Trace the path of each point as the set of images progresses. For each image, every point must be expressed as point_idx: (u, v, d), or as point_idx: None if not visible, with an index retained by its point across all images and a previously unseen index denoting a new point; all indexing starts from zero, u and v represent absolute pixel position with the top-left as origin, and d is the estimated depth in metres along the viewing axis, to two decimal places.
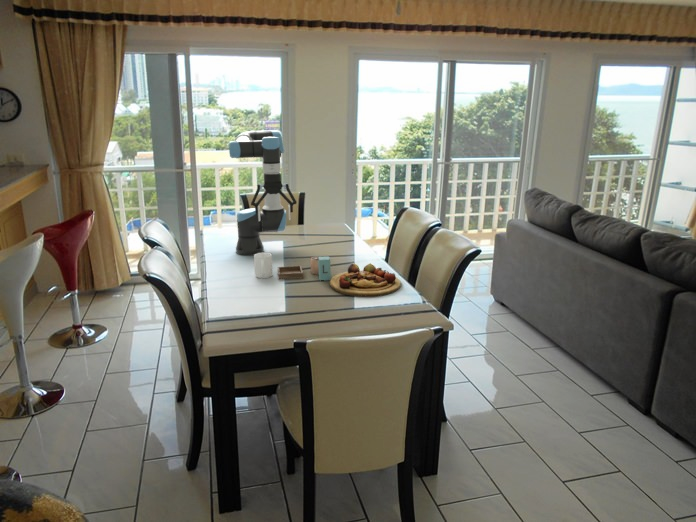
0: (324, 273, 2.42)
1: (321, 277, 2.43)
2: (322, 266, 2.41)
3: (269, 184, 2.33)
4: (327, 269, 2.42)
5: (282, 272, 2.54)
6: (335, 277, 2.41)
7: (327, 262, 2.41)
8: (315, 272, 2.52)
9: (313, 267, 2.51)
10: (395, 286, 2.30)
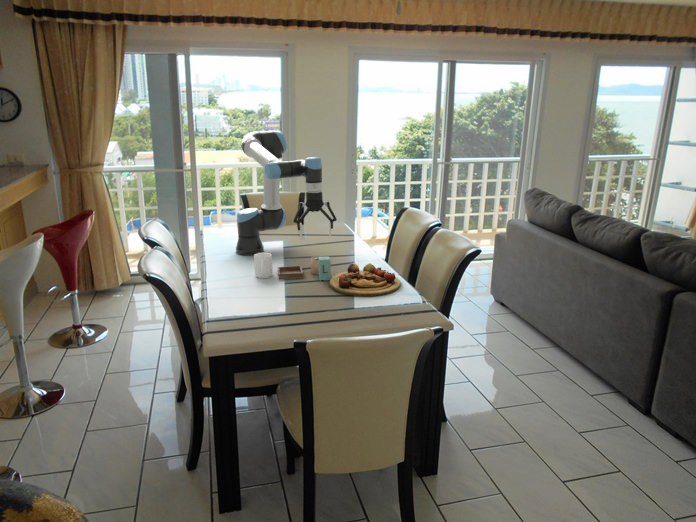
0: (324, 273, 2.42)
1: (321, 277, 2.43)
2: (322, 266, 2.41)
3: (311, 202, 2.43)
4: (327, 269, 2.42)
5: (282, 272, 2.54)
6: (335, 277, 2.41)
7: (327, 262, 2.41)
8: (315, 272, 2.52)
9: (313, 267, 2.51)
10: (395, 286, 2.30)
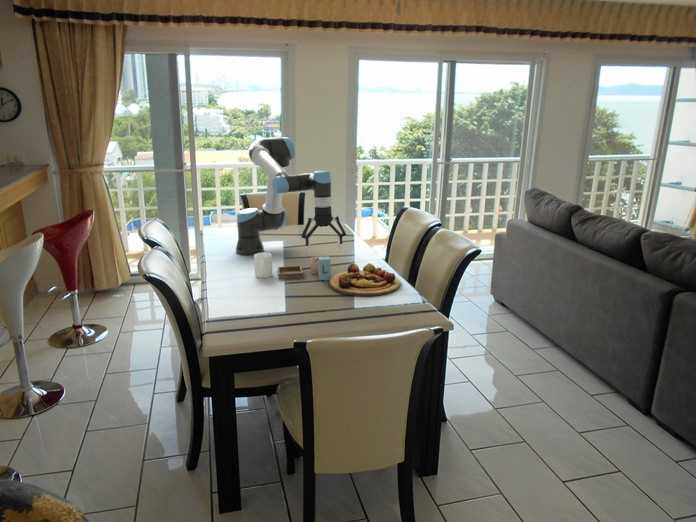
0: (324, 273, 2.42)
1: (321, 277, 2.43)
2: (322, 266, 2.41)
3: (320, 217, 2.36)
4: (327, 269, 2.42)
5: (282, 272, 2.54)
6: (335, 277, 2.41)
7: (327, 262, 2.41)
8: (315, 272, 2.52)
9: (313, 267, 2.51)
10: (394, 286, 2.30)
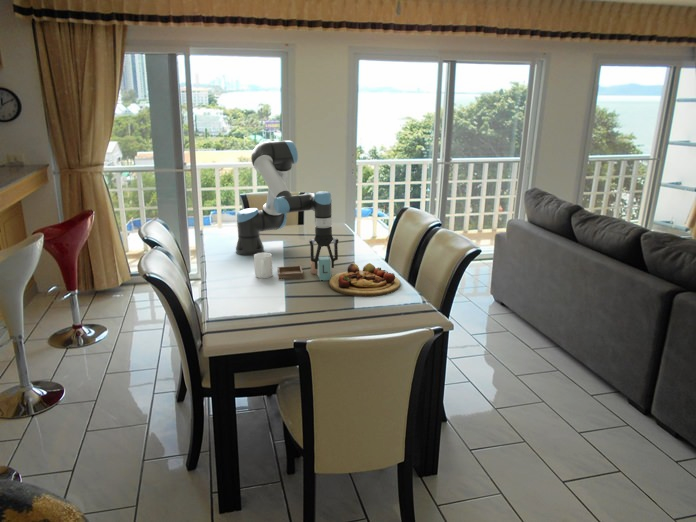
0: (324, 273, 2.42)
1: (321, 277, 2.43)
2: (322, 266, 2.41)
3: (319, 236, 2.38)
4: (327, 269, 2.42)
5: (282, 272, 2.54)
6: (335, 277, 2.41)
7: (327, 262, 2.41)
8: (315, 272, 2.52)
9: (313, 267, 2.51)
10: (394, 286, 2.30)
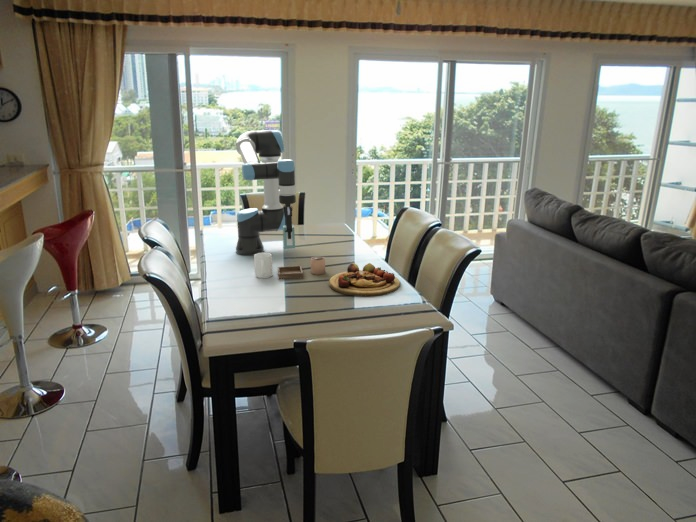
0: None
1: None
2: None
3: None
4: (283, 236, 2.45)
5: (282, 272, 2.54)
6: (334, 276, 2.41)
7: (283, 229, 2.43)
8: (315, 272, 2.52)
9: (313, 267, 2.51)
10: (394, 286, 2.30)
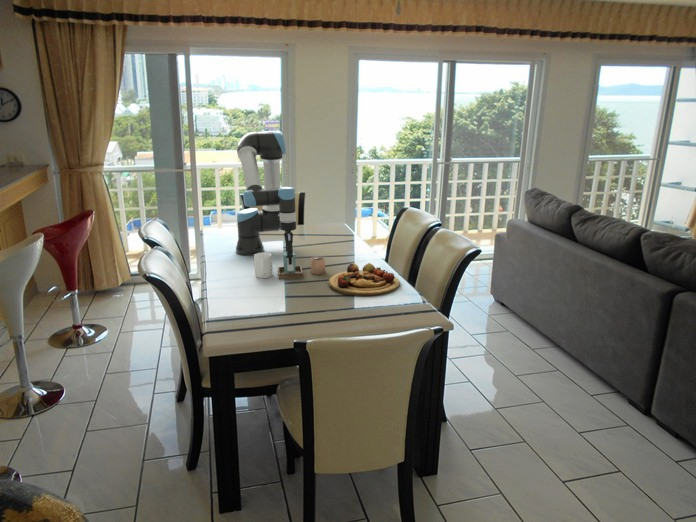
0: (284, 267, 2.50)
1: (284, 270, 2.52)
2: None
3: None
4: (284, 263, 2.49)
5: (282, 272, 2.54)
6: (334, 276, 2.42)
7: (284, 257, 2.47)
8: (315, 272, 2.52)
9: (313, 267, 2.51)
10: (393, 286, 2.30)
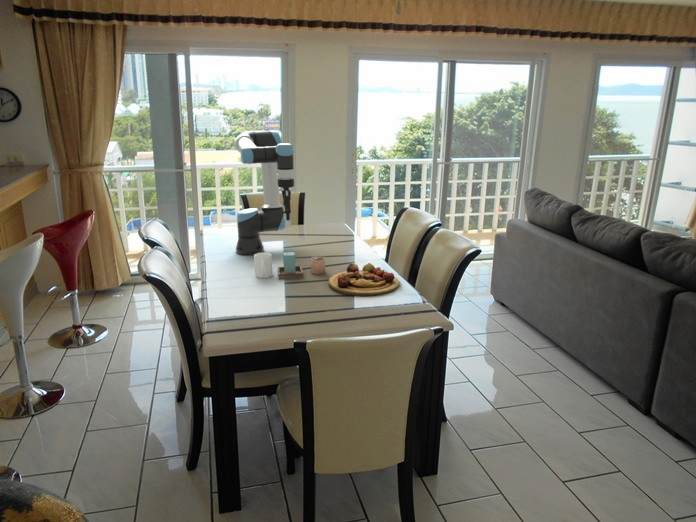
0: (284, 267, 2.50)
1: (284, 270, 2.52)
2: None
3: None
4: (284, 263, 2.49)
5: (282, 272, 2.54)
6: (334, 276, 2.42)
7: (284, 257, 2.47)
8: (315, 272, 2.52)
9: (313, 267, 2.51)
10: (393, 286, 2.31)
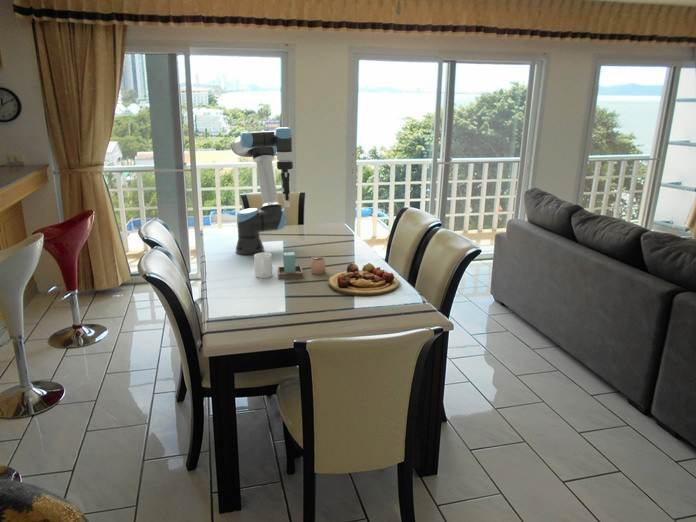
0: (284, 267, 2.50)
1: (284, 270, 2.52)
2: None
3: None
4: (284, 263, 2.49)
5: (282, 272, 2.54)
6: (334, 276, 2.42)
7: (284, 257, 2.47)
8: (315, 272, 2.52)
9: (313, 267, 2.51)
10: (393, 286, 2.31)
